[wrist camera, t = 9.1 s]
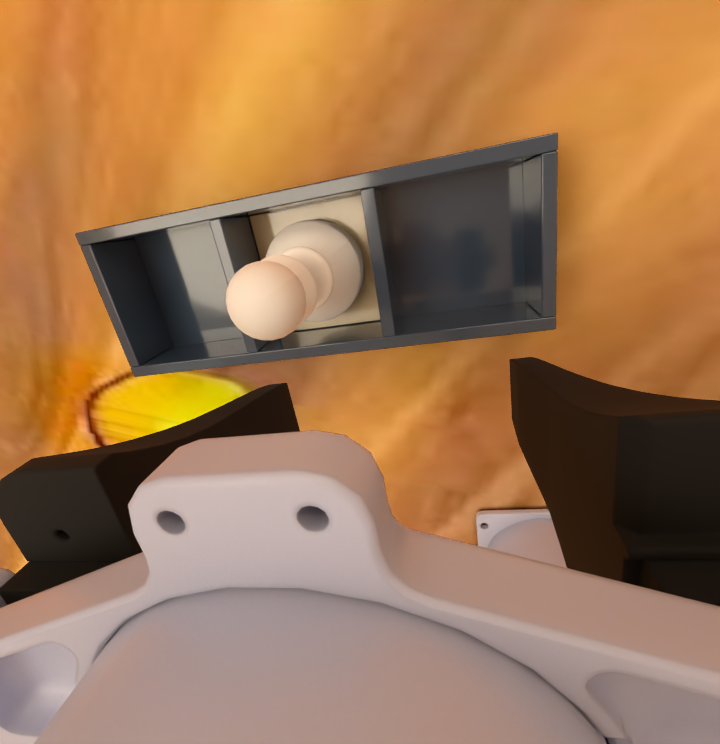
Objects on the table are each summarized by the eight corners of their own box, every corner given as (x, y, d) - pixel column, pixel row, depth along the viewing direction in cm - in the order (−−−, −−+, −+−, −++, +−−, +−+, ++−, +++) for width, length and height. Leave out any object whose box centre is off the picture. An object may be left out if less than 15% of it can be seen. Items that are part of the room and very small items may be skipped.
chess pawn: (317, 332, 23) (254, 405, 14) (256, 262, 22) (152, 298, 13) (385, 276, 21) (358, 323, 13) (322, 196, 20) (248, 192, 12)
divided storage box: (535, 309, 21) (556, 329, 17) (172, 354, 25) (134, 377, 22) (534, 145, 18) (558, 131, 15) (126, 228, 23) (74, 233, 19)
